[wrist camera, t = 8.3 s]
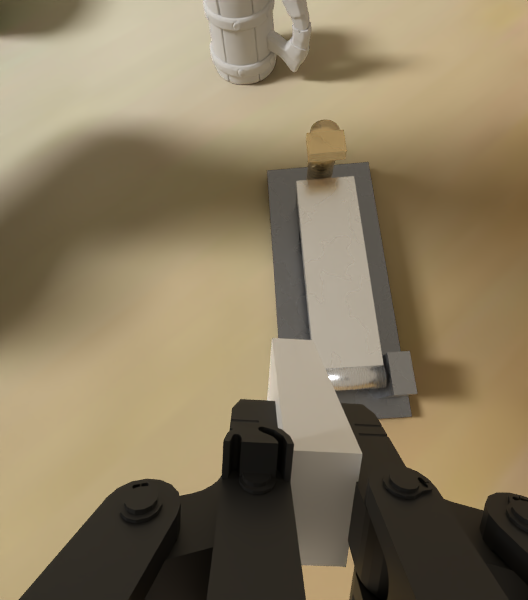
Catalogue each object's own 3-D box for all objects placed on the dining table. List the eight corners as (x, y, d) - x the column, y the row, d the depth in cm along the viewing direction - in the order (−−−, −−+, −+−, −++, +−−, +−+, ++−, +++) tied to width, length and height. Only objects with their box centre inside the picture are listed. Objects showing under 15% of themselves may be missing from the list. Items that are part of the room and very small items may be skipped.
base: (407, 416, 30) (443, 415, 23) (284, 423, 31) (283, 424, 24) (366, 168, 38) (383, 111, 31) (267, 176, 38) (263, 122, 31)
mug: (233, 30, 45) (214, -103, 34) (322, 59, 43) (335, -72, 31) (200, 74, 43) (169, -51, 32) (292, 108, 41) (294, -14, 29)
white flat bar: (381, 388, 28) (388, 386, 26) (315, 392, 28) (316, 390, 26) (351, 186, 34) (354, 173, 32) (295, 191, 34) (296, 178, 32)
